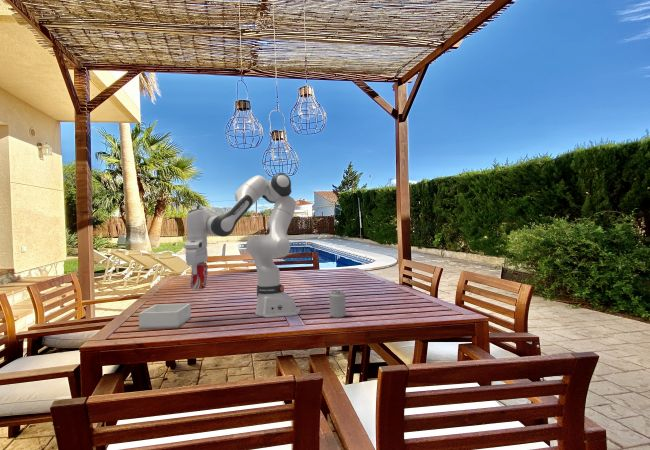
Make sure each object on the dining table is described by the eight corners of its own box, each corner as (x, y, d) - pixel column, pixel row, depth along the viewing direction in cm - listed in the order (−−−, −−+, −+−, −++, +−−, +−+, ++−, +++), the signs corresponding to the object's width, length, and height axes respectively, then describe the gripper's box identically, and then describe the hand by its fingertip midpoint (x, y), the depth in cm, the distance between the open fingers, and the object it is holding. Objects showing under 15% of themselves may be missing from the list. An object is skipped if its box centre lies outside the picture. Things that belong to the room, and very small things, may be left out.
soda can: (200, 291, 172) (203, 265, 171) (186, 288, 173) (189, 263, 172) (208, 288, 178) (211, 263, 178) (195, 285, 180) (197, 261, 179)
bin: (191, 317, 183) (190, 303, 183) (177, 327, 166) (177, 312, 166) (155, 318, 182) (155, 304, 182) (139, 328, 165) (138, 313, 165)
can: (347, 314, 182) (346, 290, 182) (343, 318, 175) (342, 293, 175) (332, 313, 184) (332, 289, 184) (327, 317, 177) (327, 292, 177)
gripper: (197, 242, 185) (198, 269, 185) (182, 245, 165) (183, 276, 165) (210, 241, 185) (211, 269, 185) (197, 244, 165) (198, 276, 165)
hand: (198, 272), depth 175 cm, fingers closed on soda can, 7 cm apart
